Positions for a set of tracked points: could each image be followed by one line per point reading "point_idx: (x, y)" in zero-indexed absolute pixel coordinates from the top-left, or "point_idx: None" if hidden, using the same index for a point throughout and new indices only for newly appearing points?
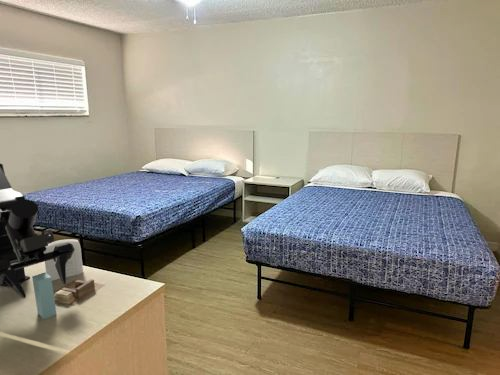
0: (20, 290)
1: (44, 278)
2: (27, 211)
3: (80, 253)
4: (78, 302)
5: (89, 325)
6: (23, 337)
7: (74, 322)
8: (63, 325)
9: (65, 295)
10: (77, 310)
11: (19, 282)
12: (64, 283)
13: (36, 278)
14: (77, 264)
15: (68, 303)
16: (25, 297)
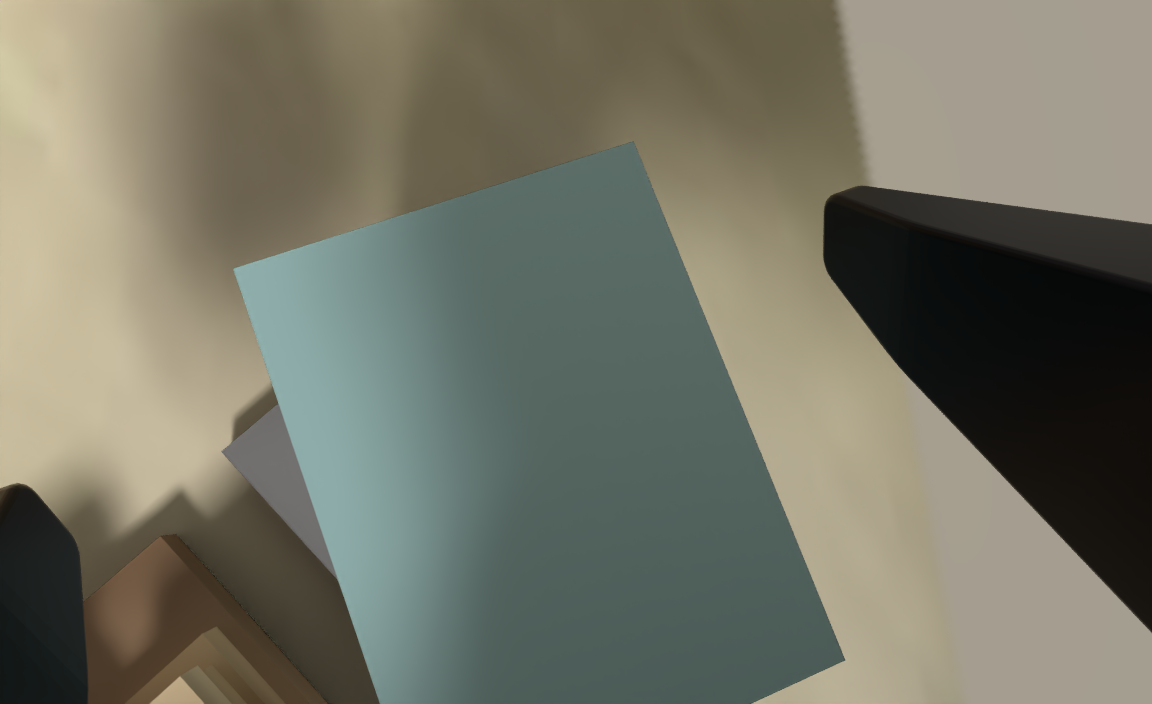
0: (988, 205)
1: (449, 259)
2: None
3: None
4: None
5: (57, 31)
6: (712, 168)
7: (207, 183)
8: (329, 184)
9: (201, 698)
10: (136, 455)
11: (1142, 279)
12: (39, 499)
13: (694, 410)
14: None
15: (215, 628)
16: (825, 221)
